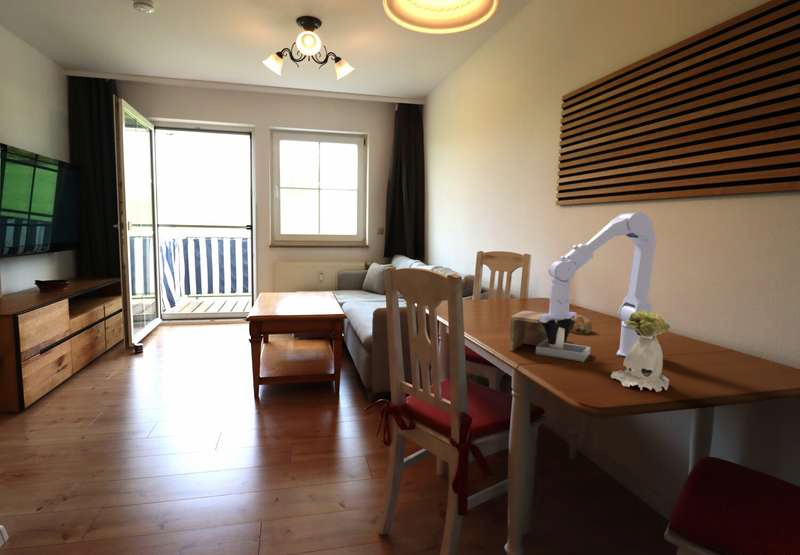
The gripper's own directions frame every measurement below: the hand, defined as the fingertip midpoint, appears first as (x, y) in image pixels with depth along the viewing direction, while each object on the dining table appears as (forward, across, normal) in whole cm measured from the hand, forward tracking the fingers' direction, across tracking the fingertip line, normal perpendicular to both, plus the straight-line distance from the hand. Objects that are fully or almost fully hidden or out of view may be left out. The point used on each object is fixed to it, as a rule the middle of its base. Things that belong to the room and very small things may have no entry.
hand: (556, 343), depth 139 cm
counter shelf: (+3, -4, +8) cm, 9 cm away
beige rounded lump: (+2, 0, 0) cm, 2 cm away
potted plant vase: (+3, -2, -28) cm, 29 cm away
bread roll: (+4, +33, +18) cm, 38 cm away
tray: (+3, +1, -2) cm, 4 cm away
